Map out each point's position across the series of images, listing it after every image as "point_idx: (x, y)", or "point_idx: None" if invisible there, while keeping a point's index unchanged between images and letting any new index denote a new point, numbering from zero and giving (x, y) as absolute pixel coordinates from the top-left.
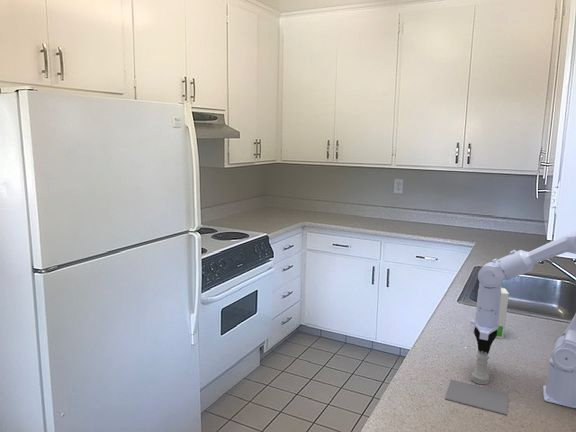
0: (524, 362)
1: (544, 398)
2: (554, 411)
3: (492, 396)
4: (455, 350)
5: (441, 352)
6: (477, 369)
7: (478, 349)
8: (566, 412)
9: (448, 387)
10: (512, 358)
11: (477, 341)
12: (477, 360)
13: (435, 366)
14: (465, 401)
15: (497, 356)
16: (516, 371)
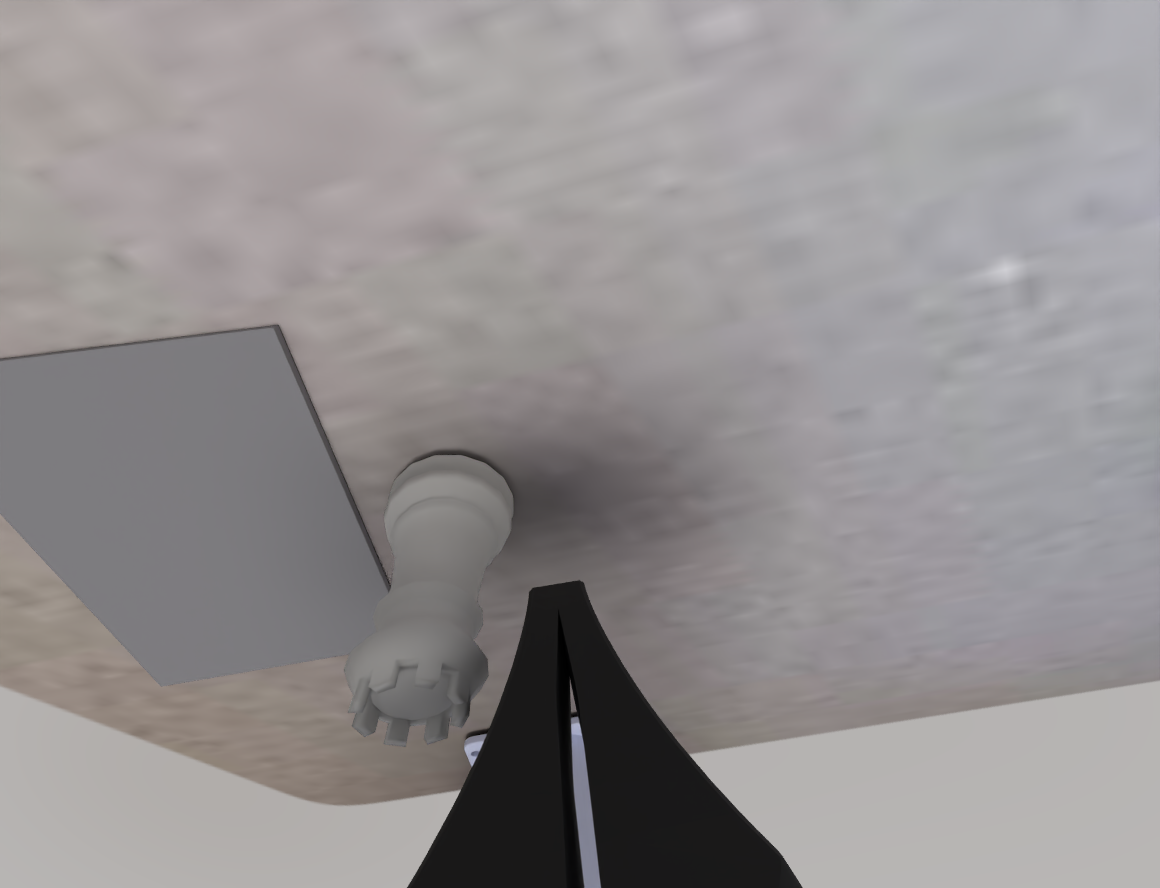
0: (849, 611)
1: (472, 744)
2: (408, 765)
3: (289, 602)
4: (916, 203)
5: (827, 64)
6: (399, 551)
7: (521, 638)
8: (437, 784)
9: (99, 350)
10: (883, 562)
11: (474, 764)
12: (398, 603)
13: (443, 94)
14: (31, 510)
15: (887, 498)
16: (718, 608)
